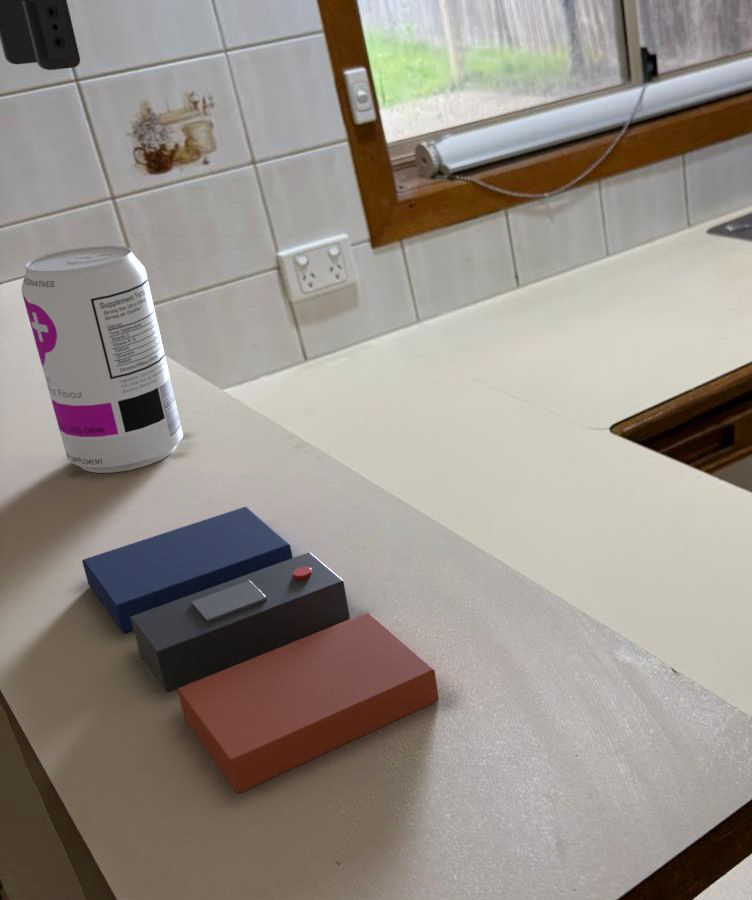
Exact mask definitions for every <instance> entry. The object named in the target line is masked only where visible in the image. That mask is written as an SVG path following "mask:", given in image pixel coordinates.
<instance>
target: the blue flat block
mask: <svg viewBox="0 0 752 900" xmlns="http://www.w3.org/2000/svg"><path fill="white" fill-rule="evenodd" d="M292 558H294V557H293V552H292V546H291V544H290V543H289V542H288V541H287V540H285V539H284V538H283V537H282V536H281V535H280V534H279V533H278V532H276V531H275V530H274V529H273V528H272V527H271V526H269V525H268V524H267V523H266V522H265V521H264V520H263V519H261V517H259V516H258V515H257V514H256V513H255V512H254V511H252V510H251V509H250V508H249V507H247V506H243V507H240V508H236V509H233V510H230V511H227V512H225V513H221V514H218V515H215V516H212V517H209V518H206V519H203V520H199V521H196V522H194V523H191V524H188V525H185V526H181V527H179V528H175V529H172V530H170V531H166V532H163V533H159V534H157V535H154V536H150V537H147V538H145V539H142V540H138V541H136V542H131V543H129V544H126V545H123V546H120V547H117V548H114V549H111V550H108V551H105V552H102V553H99V554H96V555H93V556H90V557H87V558H84V559H82V560H81V562H82V566H83V569H84V574H85V577H86V580H87V585H88V587H89V588H90V590H91V591H92V592H93V593H94V595H95V596H96V598H97V599H98V600H99V602H100V604H101V605H102V606H103V608H104V609H105V610H106V612H107V613H108V615H109V616H110V617H111V619H112V620H113V621H114V623H115V624H116V626H117V627H118V628H119V630H120V631H121V633H122V634H126V633H129V632H132V631H134V630H133V626H132V622H131V619H130V617H131V616H134V615H137V614H139V613H142V612H145V611H148V610H151V609H153V608H156V607H159V606H162V605H164V604H167V603H170V602H173V601H175V600H178V599H181V598H184V597H187V596H189V595H192V594H195V593H198V592H200V591H203V590H206V589H209V588H212V587H214V586H217V585H220V584H223V583H225V582H228V581H231V580H234V579H237V578H239V577H242V576H245V575H248V574H250V573H253V572H256V571H259V570H261V569H264V568H267V567H270V566H273V565H275V564H278V563H281V562H284V561H286V560H289V559H292Z"/></svg>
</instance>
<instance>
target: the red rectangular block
mask: <svg viewBox="0 0 752 900" xmlns="http://www.w3.org/2000/svg"><path fill="white" fill-rule="evenodd" d="M177 694H178V698H179V702H180V705H181V709H182V715H183V718H184V720H185V721H186V723H187V724H188V726H189V727H190V729H191V730H192V732H193V733H194V734H195V736H196V737H197V739H198V740H199V742H201V744H202V746H203V747H204V748H205V750H206V751H207V752H208V754H209V755H210V757H211V758H212V759H213V761H214V762H215V764H216V765H217V766H218V768H219V769H220V771H221V772H222V773H223V775H224V777H226V779H227V780H228V782H229V783H230V784H231V786H232V787H233V789H234V790H235V792H237V794H240V793H242V792H245V791H247V790H249V789H252V788H254V787H257V786H258V785H261V784H262V783H264V782H267V781H269V780H271V779H273V778H276V777H277V776H280V775H282V774H283V773H286V772H288V771H290V770H293V769H294V768H297V767H298V766H301V765H303V764H305V763H307V762H309V761H311V760H314V759H316V758H318V757H320V756H323V755H324V754H327V753H329V752H331V751H334V750H335V749H337V748H340V747H342V746H344V745H346V744H348V743H351V742H352V741H354V740H357V739H360V738H361V737H364V736H365V735H367V734H370V733H372V732H374V731H377V730H378V729H380V728H383V727H385V726H387V725H390V724H391V723H394V722H395V721H398V720H400V719H402V718H404V717H407V716H408V715H411V714H413V713H415V712H417V711H419V710H421V709H423V708H426V707H428V706H430V705H432V704H435V703H437V702H439V700H440V699H439V690H438V684H437V677H436V671H435V669H434V668H433V667H432V666H431V665H430V664H429V663H427V662H426V660H424V659H423V658H422V657H421V656H419V655H418V654H417V653H416V652H415V651H414V650H412V649H411V648H410V647H409V646H408V645H407V644H406V643H404V641H402V640H401V639H400V638H399V637H398V636H397V635H395V634H394V633H393V632H392V631H391V630H390V629H389V628H387V627H386V626H385V625H384V624H383V623H381V622H380V621H379V620H378V619H377V618H376V617H375V616H374V615H373V614H371V612H364V613H363V614H360V615H357V616H355V617H352V618H350V619H348V620H345V621H343V622H340V623H338V624H336V625H333V626H331V627H328V628H326V629H323V630H321V631H318V632H316V633H313V634H311V635H308V636H306V637H303V638H301V639H298V640H296V641H293V642H291V643H288V644H286V645H283V646H281V647H278V648H276V649H273V650H271V651H268V652H266V653H263V654H261V655H258V656H256V657H253V658H251V659H248V660H246V661H243V662H241V663H239V664H236V665H234V666H231V667H229V668H226V669H224V670H221V671H219V672H216V673H214V674H211V675H209V676H206V677H204V678H201V679H199V680H196V681H194V682H191V683H189V684H186V685H184V686H181V687H179V688H177Z"/></svg>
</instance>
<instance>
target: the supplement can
mask: <svg viewBox="0 0 752 900" xmlns="http://www.w3.org/2000/svg"><path fill="white" fill-rule="evenodd" d="M21 294H22V295H21V296H22V298H23V302H24V305H25V309H26V313H27V317H28V321H29V323H30V327H31V331H32V334H33V339H34V341H35V345H36V350H37V352H38V357H39V360H40V363H41V367H42V371H43V376H44V378H45V382H46V385H47V389H48V393H49V397H50V401H51V404H52V408H53V411H54V415H55V419H56V421H57V425H58V430H59V433H60V437H61V441H62V443H63V444H62V445H63V448H64V452H65V455H66V459H67V460H68V461H69V462H70V463H72V464H73V465H75V466H77V467H79V468H81V469H82V470H84V472H85V471H86V472H91V473H97V474H103V473H110V474H111V473H113V474H114V473H120V472H126V471H127V472H128V471H132V470H135V469H136V470H137V469H139V468H144V467H147V466H150V465H152V464H154V463H158V462H159V461H162V460H163V459H166V458H167V457H168V456H170V455H171V454H172V453H173V452H174V451H175V450H176V448H177V447H178V444H179V443H180V442H181V440H182V439H183V437H184V434H183V428H182V425H181V424H182V423H181V420H180V415H179V411H178V407H177V402H176V399H175V398H176V397H175V394H174V389H173V385H172V381H171V376H170V372H169V367H168V363H167V358H166V355H165V350H164V346H163V342H162V337H161V333H160V327H159V323H158V319H157V314H156V310H155V306H154V301H153V297H152V293H151V287H150V283H149V280H148V275H147V271H146V268H145V266H144V265H143V264H142V263H141V261H140V260H139V259H138V258H137V257H136V256H135V255H134V253H133V251H132V248H131V247H127V246H124V245H112V244H111V245H93V246H84V247H77V248H76V247H75V248H71V249H63V250H58V251H56V252H51V253H47V254H44V255H43V254H42V255H41V256H38V257H36V258H33V259H30V260H29V261H28V262H26V263H25V272H24V276H23V281H22V283H21Z"/></svg>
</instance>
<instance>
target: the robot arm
mask: <svg viewBox="0 0 752 900" xmlns="http://www.w3.org/2000/svg"><path fill="white" fill-rule="evenodd" d="M0 43H1V44H0V45H1V47H2V52H3V56H4V58H5V60H6V61H7V63H10V64H12V65H25V64H34V63H35V64H36V63H37V65H38V66H39V67H40V68H41V69H43V70H45V71H46V70H47V71H56V70H64V69H73V68H74V69H75V68H77V67H79V65H80V62H81V57H80V53H79V47H78V44H77V40H76V35H75V31H74V26H73V21H72V18H71V14H70V9H69V5H68V1H67V0H0Z"/></svg>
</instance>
